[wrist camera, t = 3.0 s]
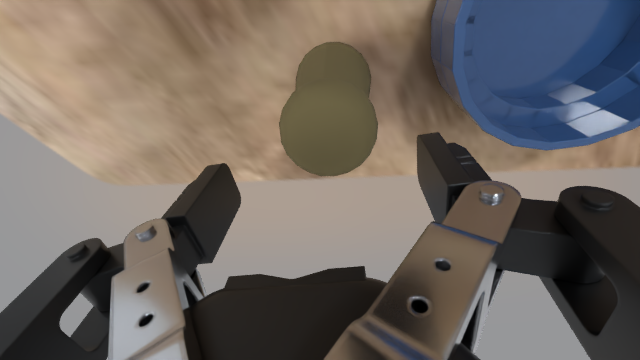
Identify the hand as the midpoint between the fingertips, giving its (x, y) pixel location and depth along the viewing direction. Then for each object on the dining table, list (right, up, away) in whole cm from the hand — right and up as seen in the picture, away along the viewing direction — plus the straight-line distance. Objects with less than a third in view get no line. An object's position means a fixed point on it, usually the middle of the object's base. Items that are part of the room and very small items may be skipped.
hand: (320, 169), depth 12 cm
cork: (+1, +7, +11) cm, 13 cm away
